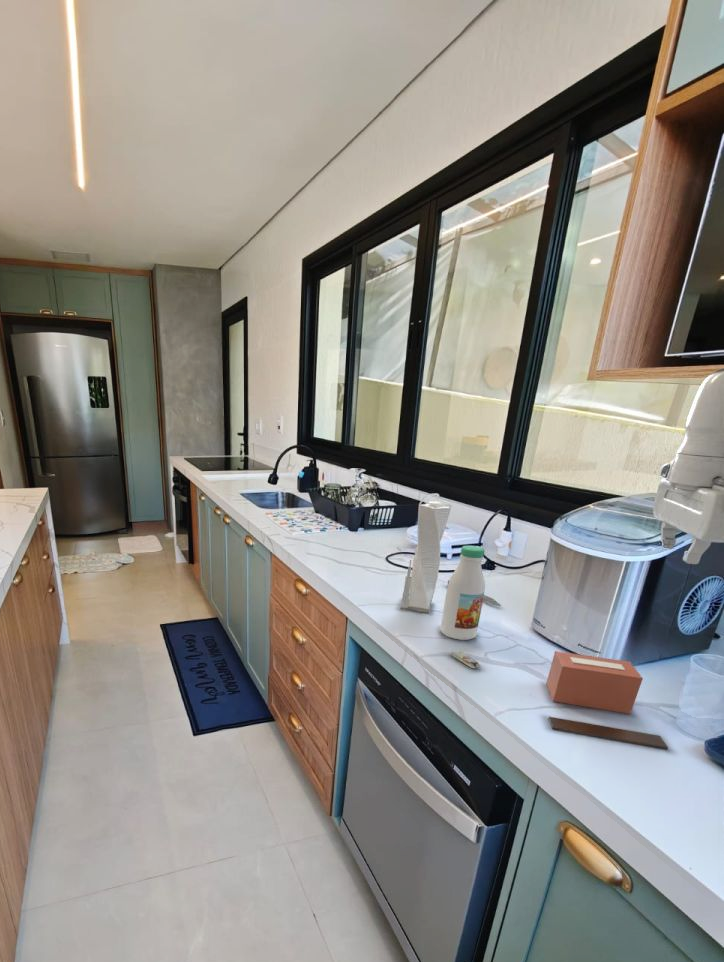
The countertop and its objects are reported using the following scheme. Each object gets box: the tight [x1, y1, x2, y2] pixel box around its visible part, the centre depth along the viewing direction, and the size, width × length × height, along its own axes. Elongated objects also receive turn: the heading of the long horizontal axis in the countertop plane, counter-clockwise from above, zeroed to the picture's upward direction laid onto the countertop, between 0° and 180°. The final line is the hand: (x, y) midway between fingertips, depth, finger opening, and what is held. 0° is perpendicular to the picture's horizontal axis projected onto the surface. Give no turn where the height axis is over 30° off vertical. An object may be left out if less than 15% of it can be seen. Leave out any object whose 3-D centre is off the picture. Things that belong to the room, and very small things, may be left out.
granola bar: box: [449, 650, 482, 669], centre depth 101 cm, size 7×2×1 cm, turn 25°
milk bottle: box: [440, 545, 486, 641], centre depth 110 cm, size 8×8×20 cm
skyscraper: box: [400, 493, 452, 614], centre depth 123 cm, size 8×8×28 cm
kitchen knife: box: [447, 579, 503, 607], centre depth 135 cm, size 18×1×2 cm, turn 27°
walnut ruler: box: [548, 716, 669, 750], centre depth 80 cm, size 16×3×1 cm, turn 74°
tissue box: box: [545, 650, 643, 715], centre depth 88 cm, size 6×12×7 cm, turn 74°
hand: (677, 555), depth 87 cm, fingers open, 8 cm apart
